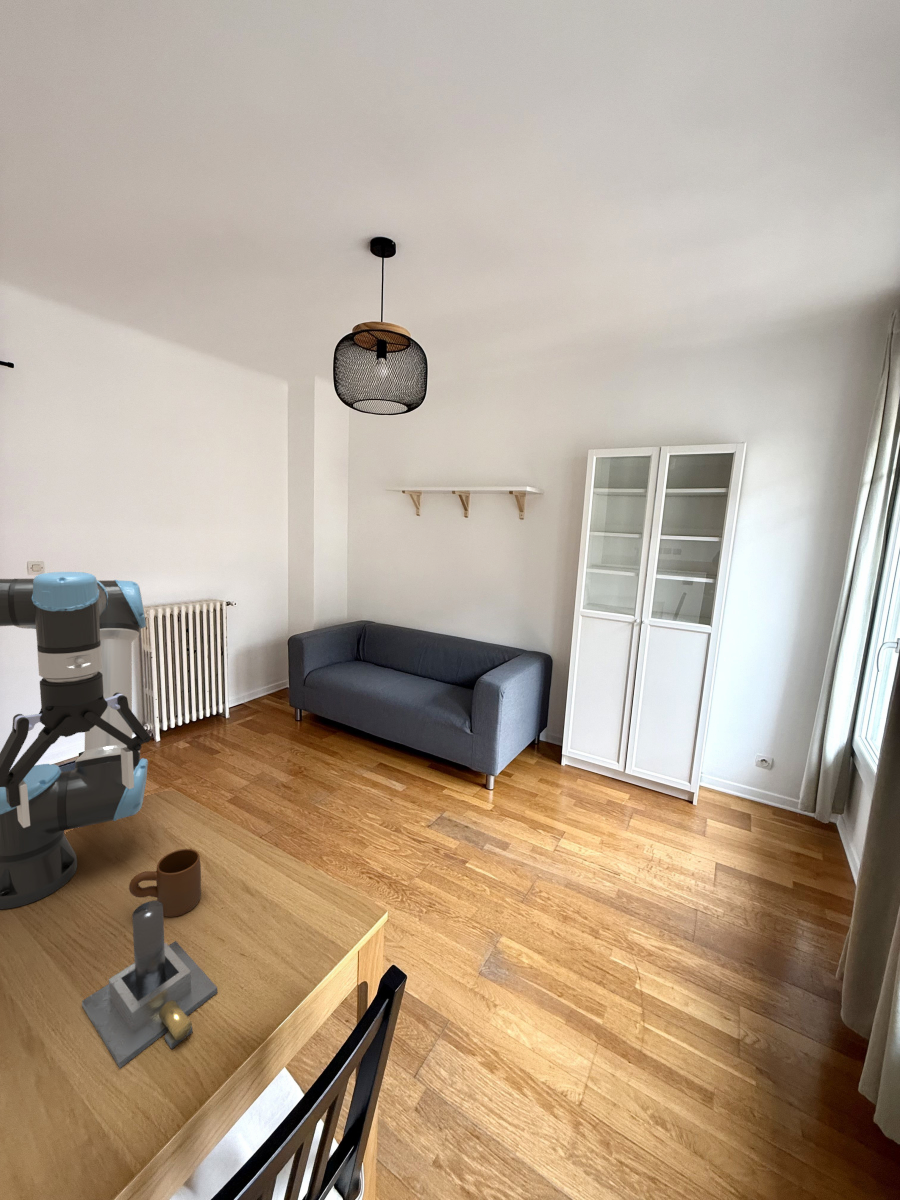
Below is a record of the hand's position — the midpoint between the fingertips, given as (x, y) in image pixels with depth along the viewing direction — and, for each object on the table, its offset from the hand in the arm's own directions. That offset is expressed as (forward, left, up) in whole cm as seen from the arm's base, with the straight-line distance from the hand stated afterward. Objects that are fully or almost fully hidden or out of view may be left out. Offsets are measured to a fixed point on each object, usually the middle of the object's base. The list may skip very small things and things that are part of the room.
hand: (79, 803), depth 75 cm
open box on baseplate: (+15, +4, -31) cm, 34 cm away
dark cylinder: (+13, +4, -30) cm, 33 cm away
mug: (-4, +14, -31) cm, 34 cm away
